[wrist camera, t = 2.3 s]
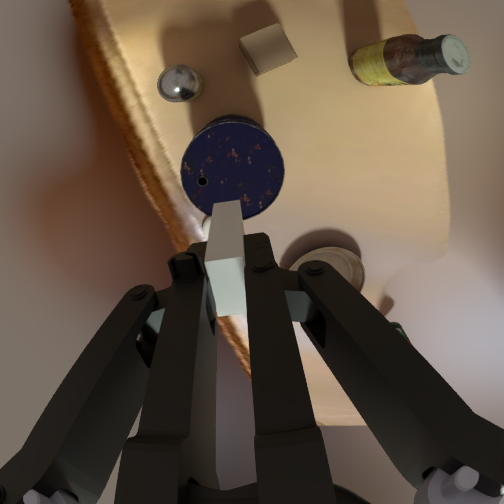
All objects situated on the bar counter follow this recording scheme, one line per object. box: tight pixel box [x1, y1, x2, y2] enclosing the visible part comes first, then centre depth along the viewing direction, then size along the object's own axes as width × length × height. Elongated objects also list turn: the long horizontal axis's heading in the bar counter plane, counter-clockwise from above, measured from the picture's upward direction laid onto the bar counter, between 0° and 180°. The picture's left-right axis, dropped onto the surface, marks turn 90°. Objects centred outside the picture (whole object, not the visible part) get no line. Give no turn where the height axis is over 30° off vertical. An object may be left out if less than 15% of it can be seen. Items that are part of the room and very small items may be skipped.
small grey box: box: [239, 23, 298, 77], centre depth 30 cm, size 5×5×6 cm
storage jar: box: [180, 115, 285, 220], centre depth 33 cm, size 10×10×15 cm
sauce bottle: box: [350, 34, 470, 86], centre depth 25 cm, size 7×6×20 cm
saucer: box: [289, 247, 365, 293], centre depth 50 cm, size 15×15×3 cm
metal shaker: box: [157, 65, 203, 102], centre depth 31 cm, size 5×5×9 cm
